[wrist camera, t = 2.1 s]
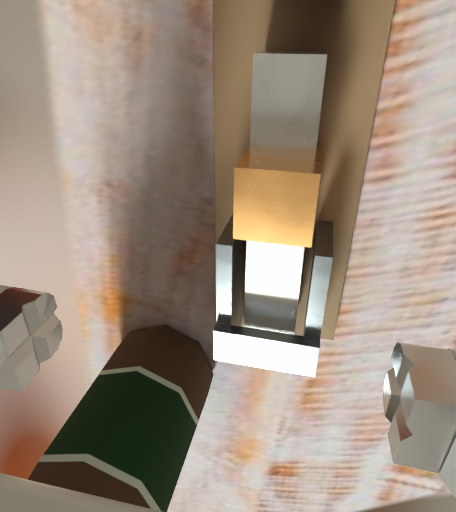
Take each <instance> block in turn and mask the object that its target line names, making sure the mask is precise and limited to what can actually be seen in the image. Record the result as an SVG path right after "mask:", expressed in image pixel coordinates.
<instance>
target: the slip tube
mask: <svg viewBox="0 0 456 512" xmlns="http://www.w3.org/2000/svg"><path fill="white" fill-rule="evenodd" d="M327 56H328V52H310V51H261V52H256V53H253V71H252V100H251V129H250V147H249V148H248V149H247V151H246V152H245V153H244V155H243V156H242V157H241V159H240V160H239V161H238V163H237V164H236V165H235V167H234V202H233V239H239V240H247V244H246V273H245V302H244V327H248V328H255V329H261V330H267V331H274V332H280V333H287V334H293V335H294V334H295V326H296V318H297V310H298V302H299V293H300V285H301V276H302V268H303V259H304V251H305V247H310V248H311V247H312V239H313V231H314V223H315V216H316V208H317V200H318V192H319V184H320V176H321V166H322V155H323V145H317V141H318V132H319V124H320V115H321V107H322V98H323V90H324V81H325V73H326V64H327Z"/></svg>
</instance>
